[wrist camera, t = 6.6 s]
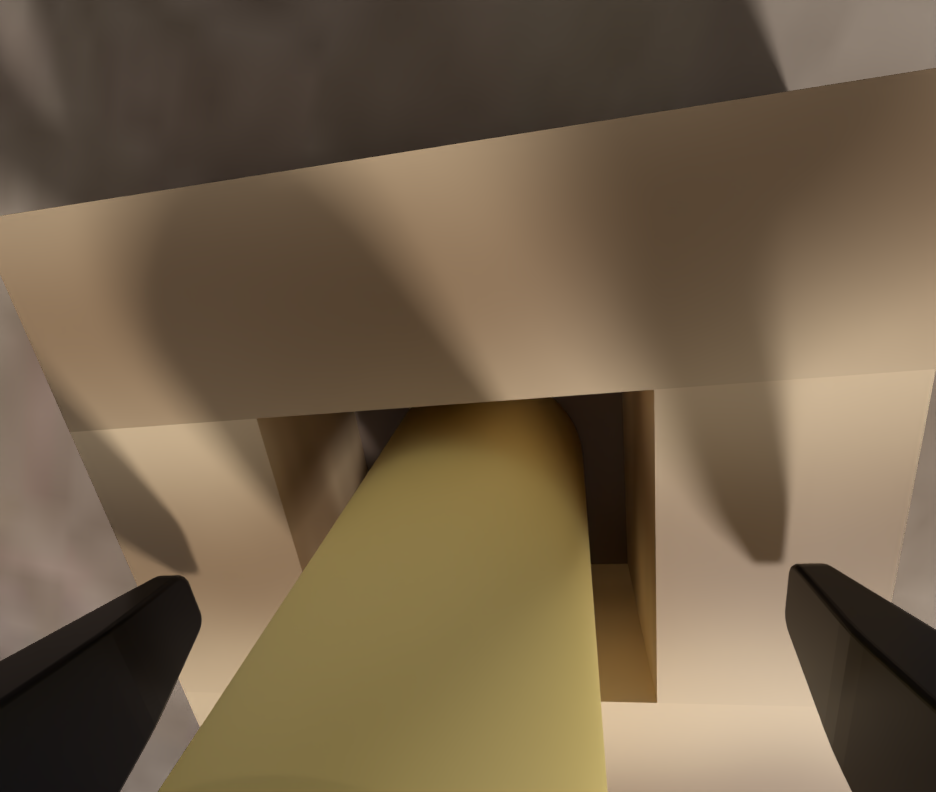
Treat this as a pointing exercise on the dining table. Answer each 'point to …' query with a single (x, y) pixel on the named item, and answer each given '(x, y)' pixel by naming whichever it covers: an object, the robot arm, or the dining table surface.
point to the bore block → (533, 379)
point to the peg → (430, 627)
